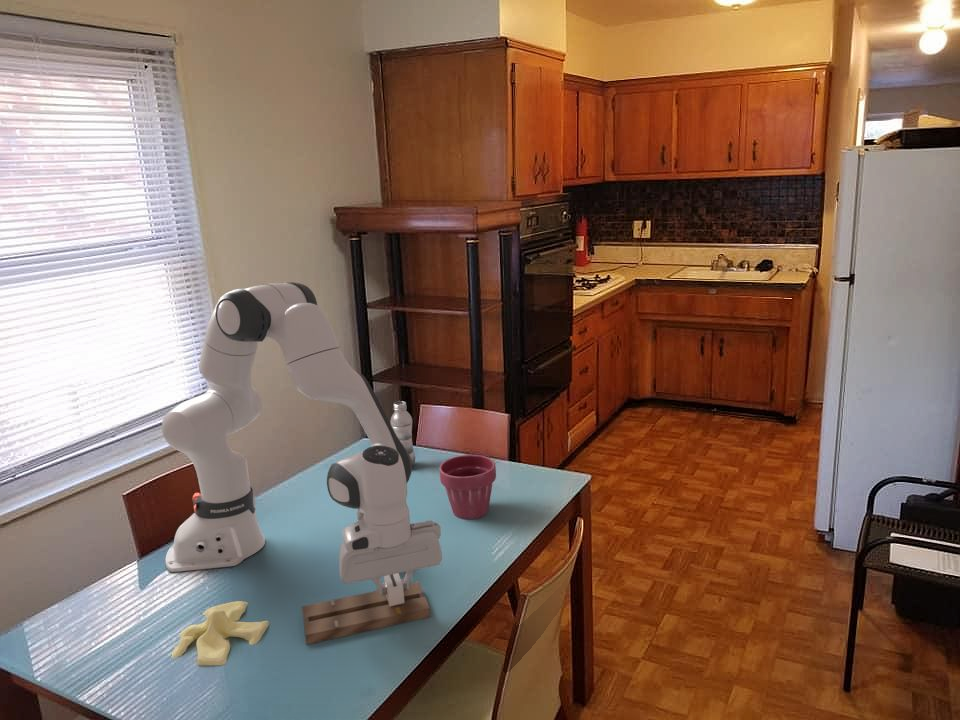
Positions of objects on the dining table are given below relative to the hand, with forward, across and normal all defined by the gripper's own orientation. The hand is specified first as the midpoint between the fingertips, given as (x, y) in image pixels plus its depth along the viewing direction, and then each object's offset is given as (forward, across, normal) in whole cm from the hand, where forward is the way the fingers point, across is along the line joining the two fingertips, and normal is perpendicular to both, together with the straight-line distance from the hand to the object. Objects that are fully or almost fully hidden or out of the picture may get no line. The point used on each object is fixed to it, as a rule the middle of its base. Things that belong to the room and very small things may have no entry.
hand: (394, 591), depth 145 cm
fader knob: (+4, 0, 0) cm, 4 cm away
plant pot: (+4, -26, -36) cm, 45 cm away
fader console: (+4, +6, 0) cm, 7 cm away
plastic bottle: (+4, -16, -72) cm, 74 cm away
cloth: (+5, +35, -4) cm, 36 cm away
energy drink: (+4, +1, -23) cm, 24 cm away
